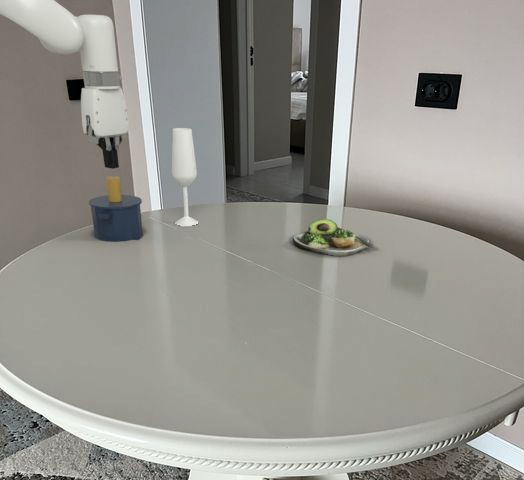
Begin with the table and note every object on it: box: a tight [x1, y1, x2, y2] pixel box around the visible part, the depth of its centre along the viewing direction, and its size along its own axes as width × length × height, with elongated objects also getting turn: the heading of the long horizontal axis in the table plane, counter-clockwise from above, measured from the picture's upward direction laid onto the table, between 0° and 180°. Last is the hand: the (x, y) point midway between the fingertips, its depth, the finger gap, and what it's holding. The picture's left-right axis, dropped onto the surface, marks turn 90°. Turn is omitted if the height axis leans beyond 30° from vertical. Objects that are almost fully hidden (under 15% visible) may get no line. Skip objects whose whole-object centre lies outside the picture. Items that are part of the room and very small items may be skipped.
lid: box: [88, 175, 143, 209], centre depth 129 cm, size 13×13×7 cm
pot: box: [90, 204, 144, 243], centre depth 132 cm, size 12×17×8 cm
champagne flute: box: [170, 127, 199, 227], centre depth 140 cm, size 7×7×24 cm
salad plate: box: [292, 218, 376, 257], centre depth 130 cm, size 19×18×5 cm
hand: (111, 167), depth 126 cm, fingers closed
